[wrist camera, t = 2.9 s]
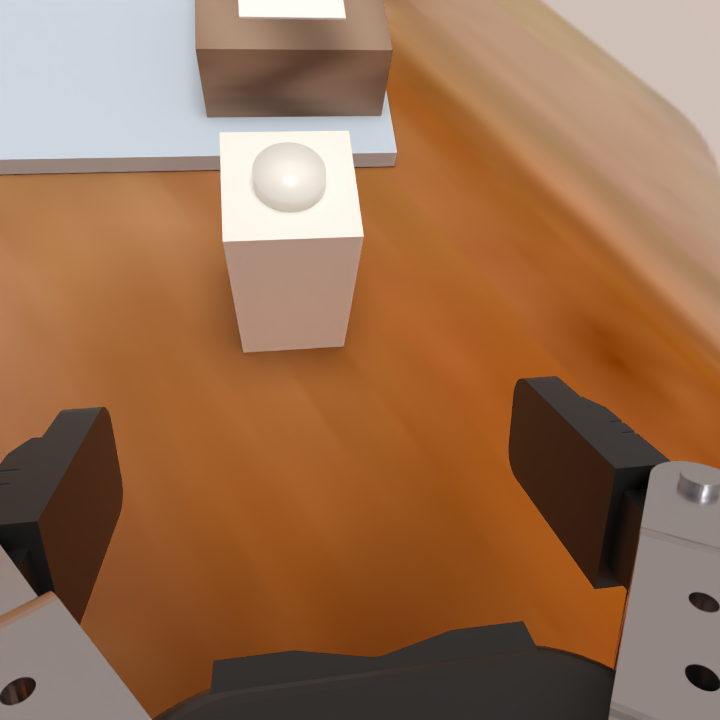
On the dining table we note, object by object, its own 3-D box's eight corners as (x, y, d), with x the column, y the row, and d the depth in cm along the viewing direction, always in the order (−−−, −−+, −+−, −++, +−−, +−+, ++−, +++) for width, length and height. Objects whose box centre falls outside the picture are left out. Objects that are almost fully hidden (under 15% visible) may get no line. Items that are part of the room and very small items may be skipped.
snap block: (243, 352, 27) (220, 230, 18) (239, 266, 28) (217, 119, 20) (343, 346, 27) (365, 225, 19) (333, 262, 29) (350, 117, 21)
